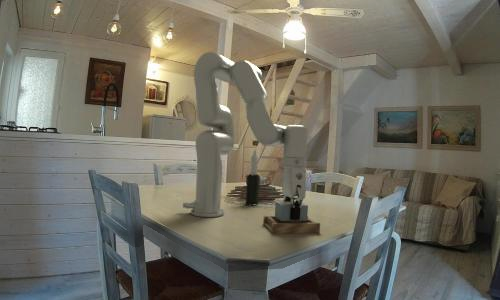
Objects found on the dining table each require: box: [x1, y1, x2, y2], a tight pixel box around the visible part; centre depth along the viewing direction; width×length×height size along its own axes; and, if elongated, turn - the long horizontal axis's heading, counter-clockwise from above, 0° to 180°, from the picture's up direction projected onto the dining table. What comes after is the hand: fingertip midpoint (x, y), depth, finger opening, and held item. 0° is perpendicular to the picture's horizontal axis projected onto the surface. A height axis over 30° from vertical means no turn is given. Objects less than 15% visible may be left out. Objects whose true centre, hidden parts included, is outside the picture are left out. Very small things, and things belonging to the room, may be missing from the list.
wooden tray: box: [262, 215, 321, 235], centre depth 98 cm, size 16×10×3 cm, turn 104°
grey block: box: [274, 201, 309, 221], centre depth 98 cm, size 9×6×5 cm, turn 105°
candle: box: [245, 149, 261, 205], centre depth 134 cm, size 5×5×25 cm
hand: (290, 216), depth 98 cm, fingers closed on grey block, 6 cm apart
